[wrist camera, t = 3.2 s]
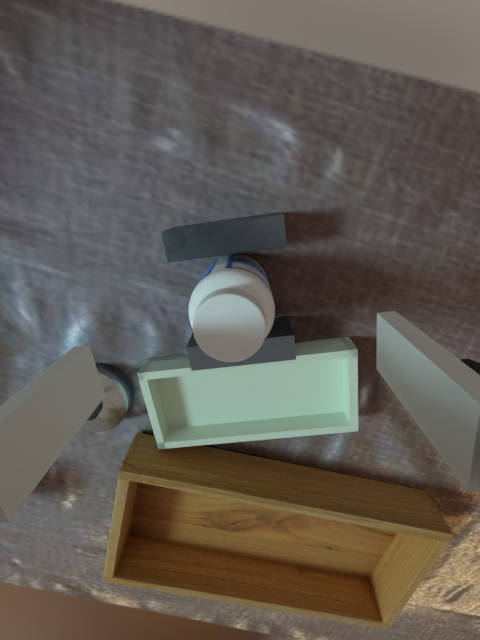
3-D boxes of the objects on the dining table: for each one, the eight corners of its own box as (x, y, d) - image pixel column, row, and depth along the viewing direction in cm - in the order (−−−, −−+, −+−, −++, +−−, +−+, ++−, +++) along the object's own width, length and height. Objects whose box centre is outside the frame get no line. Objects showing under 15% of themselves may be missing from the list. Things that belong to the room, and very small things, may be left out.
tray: (425, 487, 34) (458, 540, 28) (370, 575, 39) (389, 635, 34) (140, 425, 32) (118, 470, 26) (122, 527, 37) (101, 581, 32)
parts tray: (145, 359, 28) (136, 373, 26) (348, 336, 27) (357, 349, 25) (165, 430, 31) (158, 449, 29) (349, 413, 30) (358, 431, 28)
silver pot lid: (60, 366, 29) (40, 384, 26) (123, 359, 29) (110, 377, 26) (81, 420, 31) (64, 442, 28) (140, 414, 31) (129, 435, 28)
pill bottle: (217, 324, 27) (201, 387, 18) (192, 266, 25) (160, 302, 16) (277, 304, 26) (293, 358, 17) (255, 242, 25) (260, 266, 16)
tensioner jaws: (174, 227, 24) (161, 232, 21) (278, 212, 24) (284, 214, 20) (199, 348, 28) (191, 370, 24) (289, 337, 27) (296, 359, 24)
